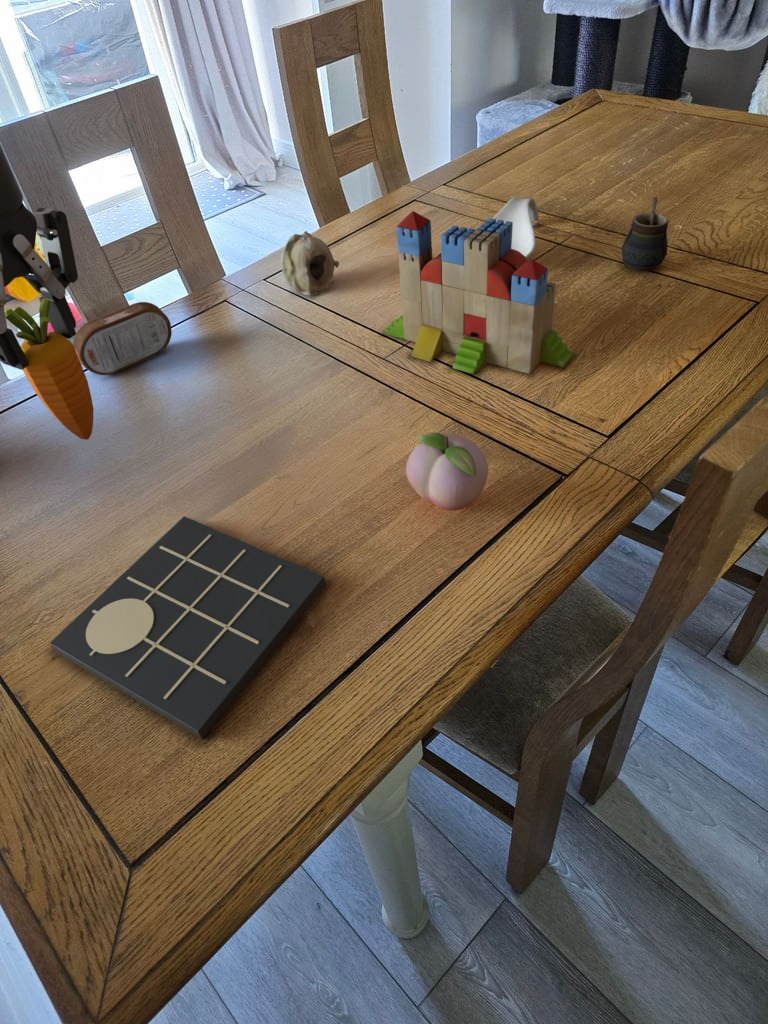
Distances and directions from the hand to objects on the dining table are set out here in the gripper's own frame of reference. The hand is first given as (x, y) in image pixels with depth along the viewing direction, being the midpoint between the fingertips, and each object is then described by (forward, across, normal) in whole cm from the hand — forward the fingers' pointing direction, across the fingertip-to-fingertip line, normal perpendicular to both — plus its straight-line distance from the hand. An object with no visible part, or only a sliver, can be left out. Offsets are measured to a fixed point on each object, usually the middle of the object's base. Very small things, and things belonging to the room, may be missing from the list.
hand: (43, 349), depth 63 cm
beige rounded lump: (+26, -60, -15) cm, 67 cm away
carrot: (+11, 0, 0) cm, 11 cm away
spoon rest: (+26, -85, +11) cm, 89 cm away
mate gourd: (+26, -87, +34) cm, 97 cm away
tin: (+26, -28, -28) cm, 48 cm away
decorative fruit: (+26, -21, +30) cm, 45 cm away
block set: (+26, -54, +18) cm, 62 cm away
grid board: (+26, +6, +14) cm, 30 cm away
